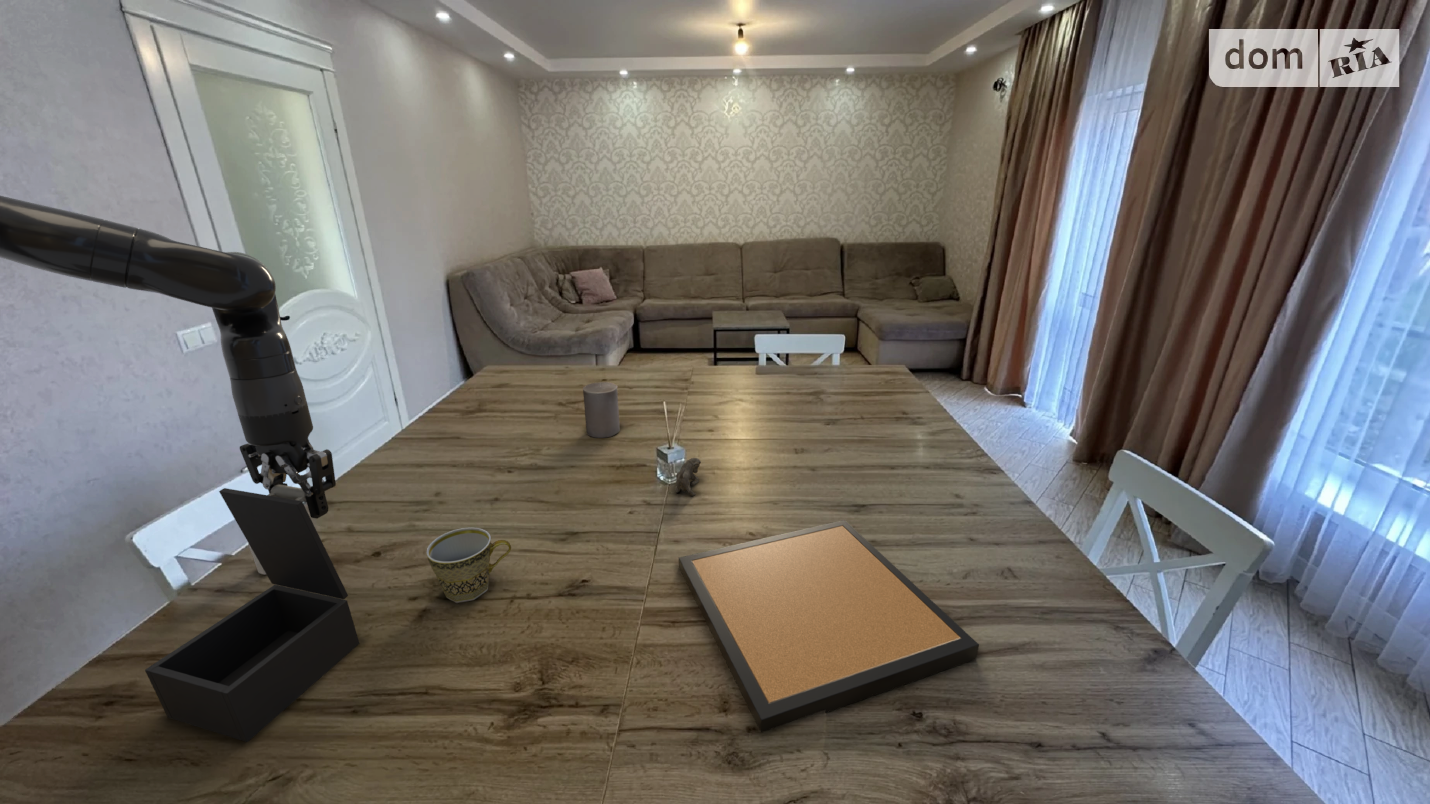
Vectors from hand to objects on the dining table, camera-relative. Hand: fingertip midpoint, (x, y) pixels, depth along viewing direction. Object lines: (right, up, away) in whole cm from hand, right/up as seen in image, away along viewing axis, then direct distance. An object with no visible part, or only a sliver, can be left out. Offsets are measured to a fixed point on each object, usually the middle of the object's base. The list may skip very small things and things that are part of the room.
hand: (302, 511), depth 80 cm
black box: (-3, -24, -2) cm, 24 cm away
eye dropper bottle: (-21, -15, +22) cm, 34 cm away
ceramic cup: (+19, -17, +16) cm, 30 cm away
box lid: (-1, -5, -2) cm, 5 cm away
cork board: (+77, -19, +11) cm, 80 cm away
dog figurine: (+54, -4, +50) cm, 74 cm away
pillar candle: (+28, +7, +80) cm, 85 cm away
